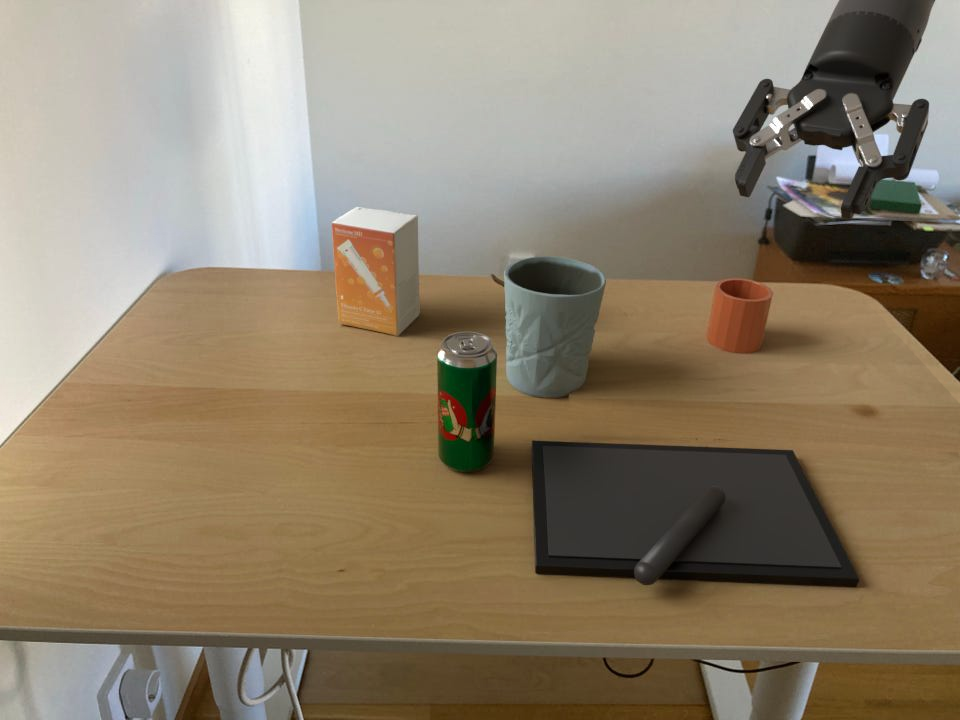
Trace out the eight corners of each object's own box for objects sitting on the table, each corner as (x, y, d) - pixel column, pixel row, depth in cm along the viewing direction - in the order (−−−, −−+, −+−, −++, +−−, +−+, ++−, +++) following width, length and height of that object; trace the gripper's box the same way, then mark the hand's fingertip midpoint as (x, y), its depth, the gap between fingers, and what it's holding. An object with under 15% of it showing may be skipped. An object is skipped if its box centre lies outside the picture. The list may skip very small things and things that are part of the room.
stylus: (706, 493, 65) (627, 580, 57) (712, 477, 64) (632, 564, 56) (725, 504, 64) (648, 594, 56) (731, 488, 63) (654, 578, 55)
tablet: (790, 457, 72) (793, 448, 71) (856, 587, 58) (860, 577, 57) (531, 447, 72) (531, 438, 72) (535, 574, 58) (535, 564, 58)
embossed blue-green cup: (484, 365, 85) (486, 264, 79) (561, 346, 89) (569, 249, 84) (531, 411, 78) (538, 303, 72) (613, 388, 82) (626, 284, 76)
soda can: (488, 439, 73) (491, 327, 67) (498, 472, 69) (502, 355, 63) (435, 444, 72) (433, 331, 67) (442, 478, 68) (441, 360, 62)
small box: (337, 325, 93) (329, 221, 87) (363, 304, 98) (356, 204, 92) (398, 337, 91) (394, 232, 84) (421, 315, 96) (419, 214, 89)
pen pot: (752, 332, 93) (764, 279, 90) (767, 357, 88) (780, 302, 85) (700, 330, 94) (710, 277, 90) (712, 355, 88) (722, 300, 85)
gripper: (781, 2, 67) (702, 161, 65) (966, 15, 59) (883, 197, 57) (790, 60, 73) (719, 207, 71) (958, 79, 65) (884, 245, 63)
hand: (792, 202), depth 64 cm, fingers open, 8 cm apart
